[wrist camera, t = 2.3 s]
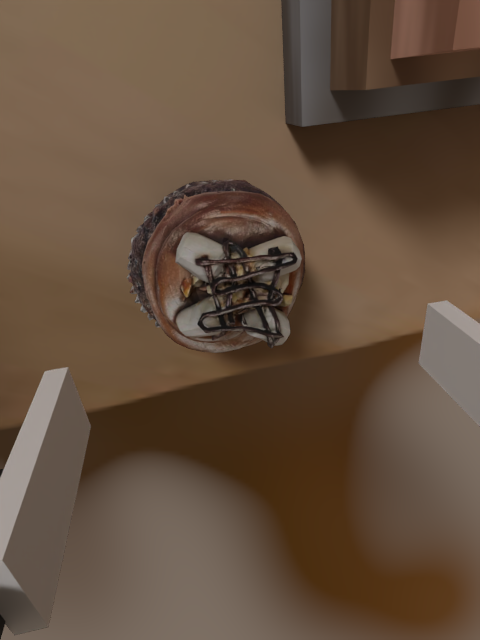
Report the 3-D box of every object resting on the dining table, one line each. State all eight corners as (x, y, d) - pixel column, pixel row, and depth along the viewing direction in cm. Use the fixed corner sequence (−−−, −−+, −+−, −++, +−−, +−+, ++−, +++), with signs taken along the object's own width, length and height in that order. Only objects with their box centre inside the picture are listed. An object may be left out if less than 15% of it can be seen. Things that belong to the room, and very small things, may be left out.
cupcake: (113, 177, 23) (89, 226, 15) (276, 155, 24) (342, 190, 16) (148, 320, 28) (145, 419, 19) (282, 296, 29) (336, 381, 21)
